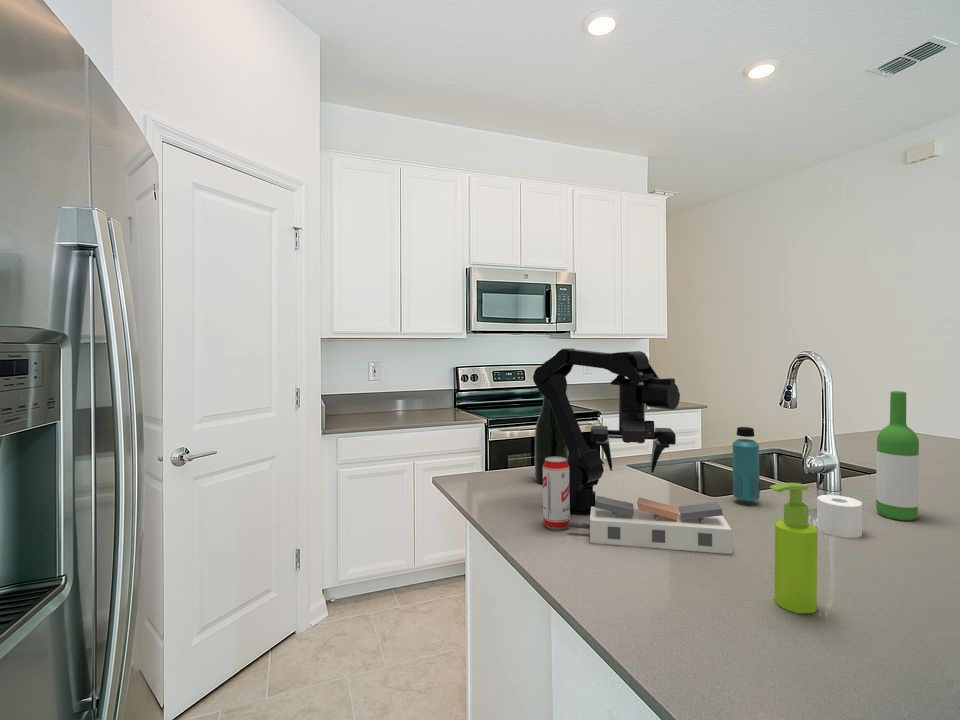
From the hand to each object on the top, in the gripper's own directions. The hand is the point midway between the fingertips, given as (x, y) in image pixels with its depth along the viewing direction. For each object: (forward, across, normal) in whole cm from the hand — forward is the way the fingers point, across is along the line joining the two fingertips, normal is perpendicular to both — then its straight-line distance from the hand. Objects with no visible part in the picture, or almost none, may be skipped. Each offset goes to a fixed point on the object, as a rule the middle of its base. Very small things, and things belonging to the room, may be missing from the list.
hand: (631, 471), depth 118 cm
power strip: (+13, +2, -8) cm, 15 cm away
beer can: (+13, -17, -4) cm, 22 cm away
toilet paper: (+13, +46, +6) cm, 48 cm away
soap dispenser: (+12, +23, -32) cm, 41 cm away
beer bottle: (+14, -21, +33) cm, 42 cm away
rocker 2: (+7, +5, -8) cm, 12 cm away
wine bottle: (+12, +62, +17) cm, 66 cm away
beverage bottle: (+13, +30, +21) cm, 39 cm away
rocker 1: (+7, -4, -8) cm, 11 cm away
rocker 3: (+7, +14, -8) cm, 17 cm away
